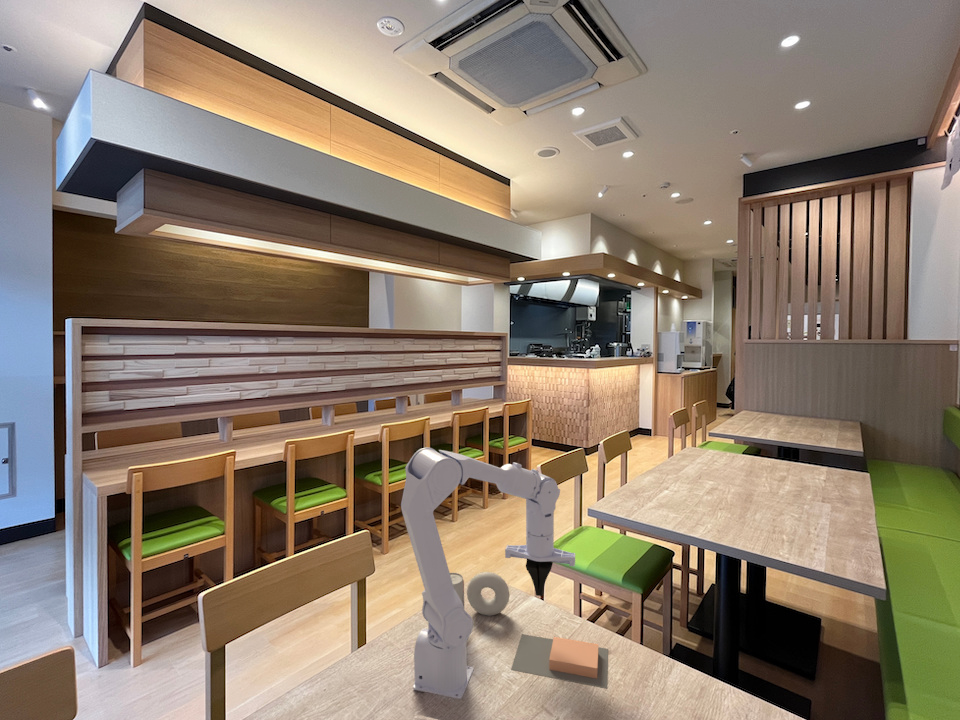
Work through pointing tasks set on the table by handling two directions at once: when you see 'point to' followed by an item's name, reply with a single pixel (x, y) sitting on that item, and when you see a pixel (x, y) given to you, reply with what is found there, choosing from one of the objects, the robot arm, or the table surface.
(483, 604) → the donut
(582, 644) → the tile
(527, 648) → the mat
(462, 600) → the energy drink
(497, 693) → the table surface
